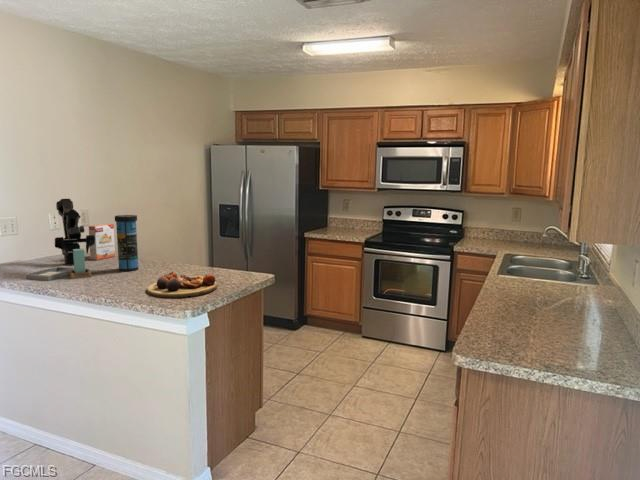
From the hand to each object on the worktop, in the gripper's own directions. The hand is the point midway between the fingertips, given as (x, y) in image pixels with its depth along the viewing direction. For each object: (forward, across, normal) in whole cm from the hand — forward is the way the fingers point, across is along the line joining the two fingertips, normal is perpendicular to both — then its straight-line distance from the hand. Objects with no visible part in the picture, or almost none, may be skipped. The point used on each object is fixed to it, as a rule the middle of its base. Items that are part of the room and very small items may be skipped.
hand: (77, 253), depth 236 cm
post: (+11, 0, +5) cm, 12 cm away
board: (+4, -11, +12) cm, 17 cm away
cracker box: (-20, +19, +35) cm, 45 cm away
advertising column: (+9, +24, +7) cm, 27 cm away
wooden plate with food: (+48, +36, -31) cm, 68 cm away
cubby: (+11, 0, +5) cm, 12 cm away
